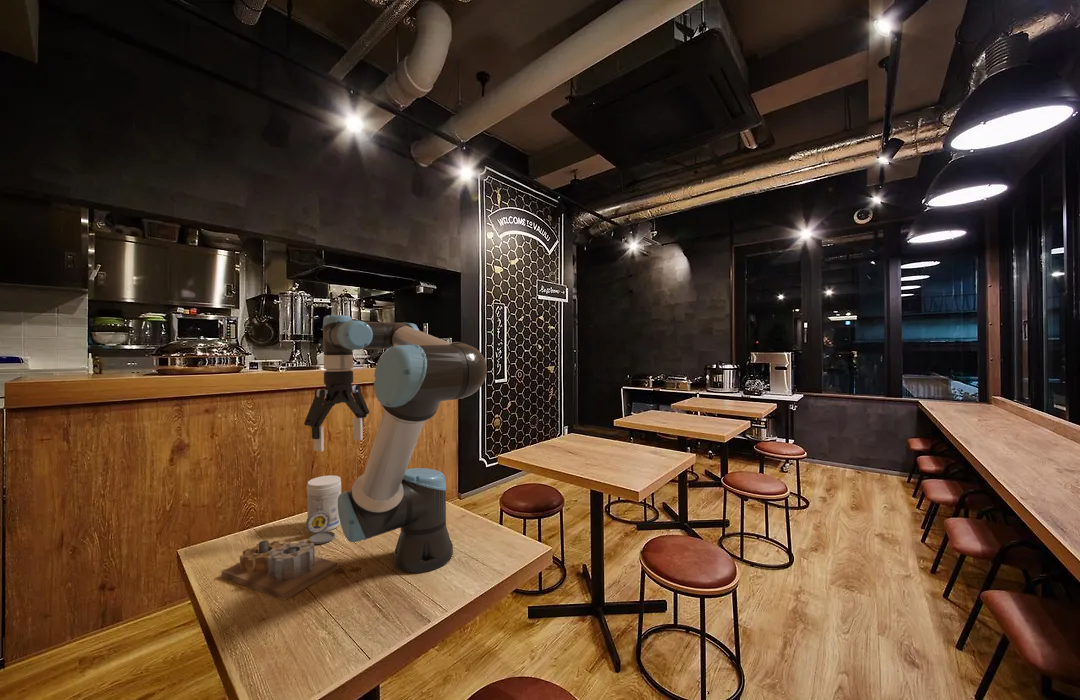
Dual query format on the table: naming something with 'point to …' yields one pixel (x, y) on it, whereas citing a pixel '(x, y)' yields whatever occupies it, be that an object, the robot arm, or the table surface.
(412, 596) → the table surface
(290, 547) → the steel gear
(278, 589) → the gear board
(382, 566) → the table surface
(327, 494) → the supplement tub
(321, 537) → the pocket watch
